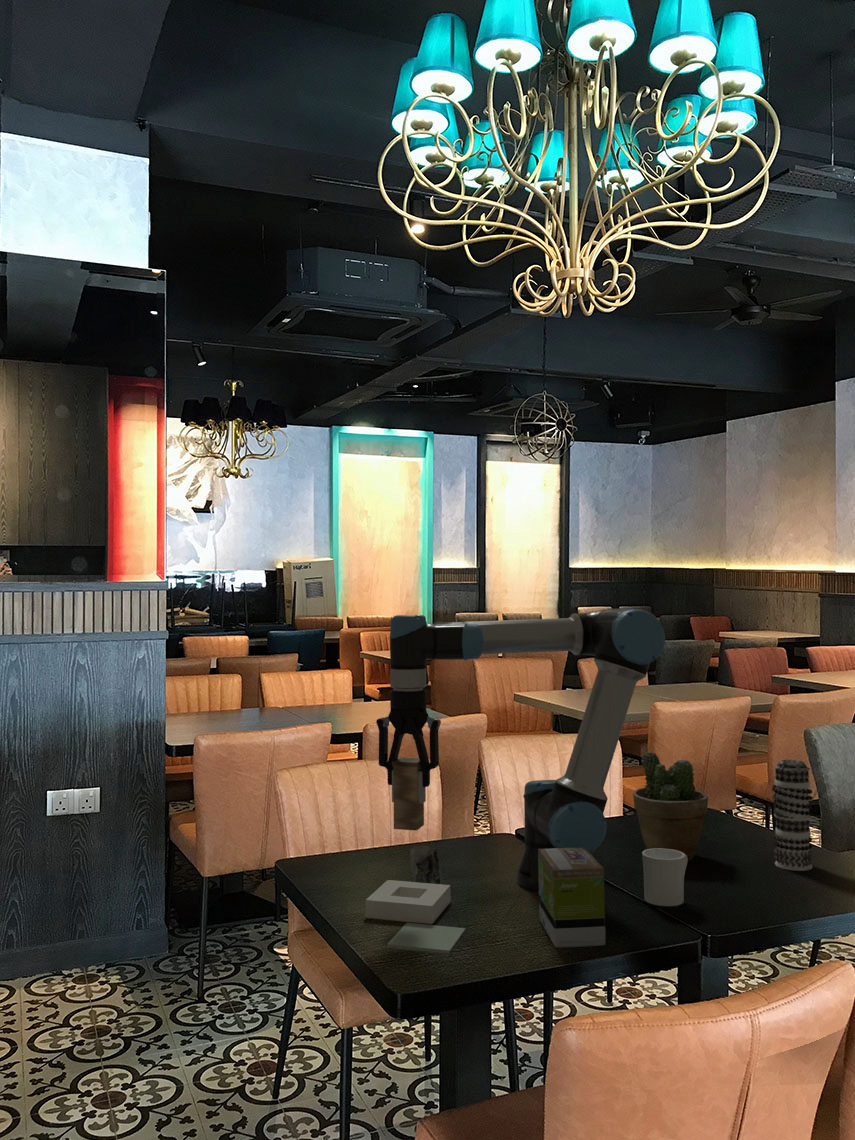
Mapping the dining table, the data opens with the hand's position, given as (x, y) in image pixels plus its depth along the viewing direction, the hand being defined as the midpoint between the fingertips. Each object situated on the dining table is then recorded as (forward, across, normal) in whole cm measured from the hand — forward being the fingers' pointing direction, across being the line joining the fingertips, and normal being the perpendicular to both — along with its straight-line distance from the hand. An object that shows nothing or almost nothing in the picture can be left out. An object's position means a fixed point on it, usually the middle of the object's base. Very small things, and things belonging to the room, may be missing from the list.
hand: (408, 801), depth 195 cm
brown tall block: (+5, 0, 0) cm, 5 cm away
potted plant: (+23, -50, -58) cm, 80 cm away
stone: (+23, +2, -18) cm, 29 cm away
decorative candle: (+23, -79, -57) cm, 100 cm away
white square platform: (+23, 0, 0) cm, 23 cm away
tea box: (+23, -34, +3) cm, 41 cm away
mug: (+23, -51, -21) cm, 60 cm away
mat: (+23, -8, +14) cm, 28 cm away
